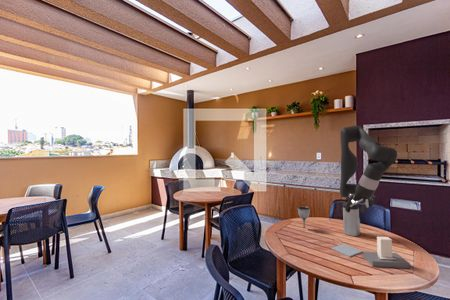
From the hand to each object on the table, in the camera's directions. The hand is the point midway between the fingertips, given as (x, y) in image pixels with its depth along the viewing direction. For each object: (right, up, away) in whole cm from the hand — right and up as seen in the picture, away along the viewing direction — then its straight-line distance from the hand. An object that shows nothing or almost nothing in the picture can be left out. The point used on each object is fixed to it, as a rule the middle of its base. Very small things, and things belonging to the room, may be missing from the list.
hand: (354, 211), depth 111 cm
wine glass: (-9, -26, +46) cm, 53 cm away
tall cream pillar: (+14, -25, -2) cm, 29 cm away
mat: (+2, -25, +11) cm, 28 cm away
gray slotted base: (+14, -25, -2) cm, 29 cm away
